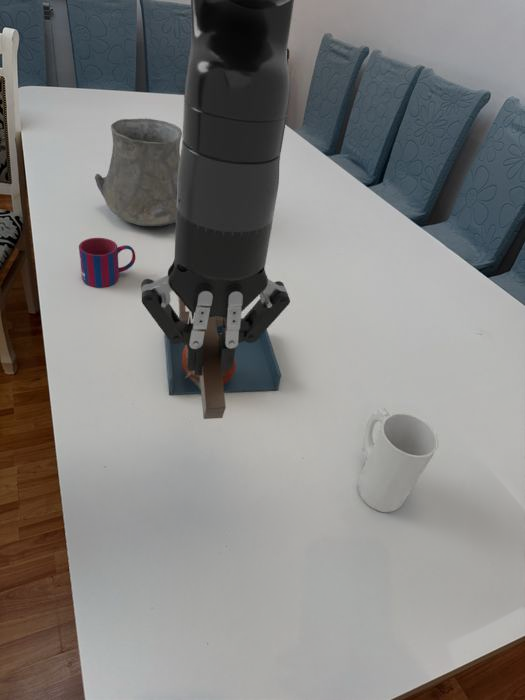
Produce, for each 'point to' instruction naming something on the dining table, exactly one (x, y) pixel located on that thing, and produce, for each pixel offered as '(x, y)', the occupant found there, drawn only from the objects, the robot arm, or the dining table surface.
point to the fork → (209, 368)
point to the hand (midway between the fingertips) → (209, 369)
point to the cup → (101, 261)
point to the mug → (394, 458)
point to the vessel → (143, 171)
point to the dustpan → (250, 373)
